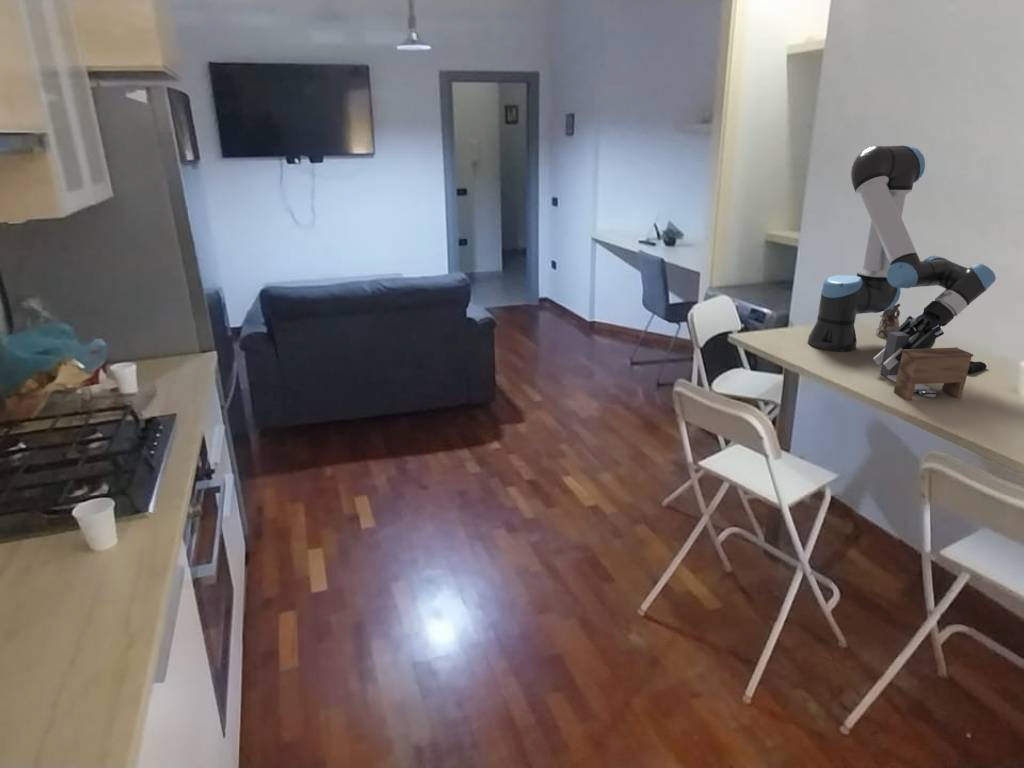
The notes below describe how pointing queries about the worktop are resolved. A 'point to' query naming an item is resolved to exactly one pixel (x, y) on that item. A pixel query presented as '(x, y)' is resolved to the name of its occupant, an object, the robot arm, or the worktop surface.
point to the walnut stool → (932, 370)
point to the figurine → (888, 322)
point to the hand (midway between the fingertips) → (881, 364)
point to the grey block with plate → (893, 345)
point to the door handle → (976, 366)
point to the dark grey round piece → (927, 393)
